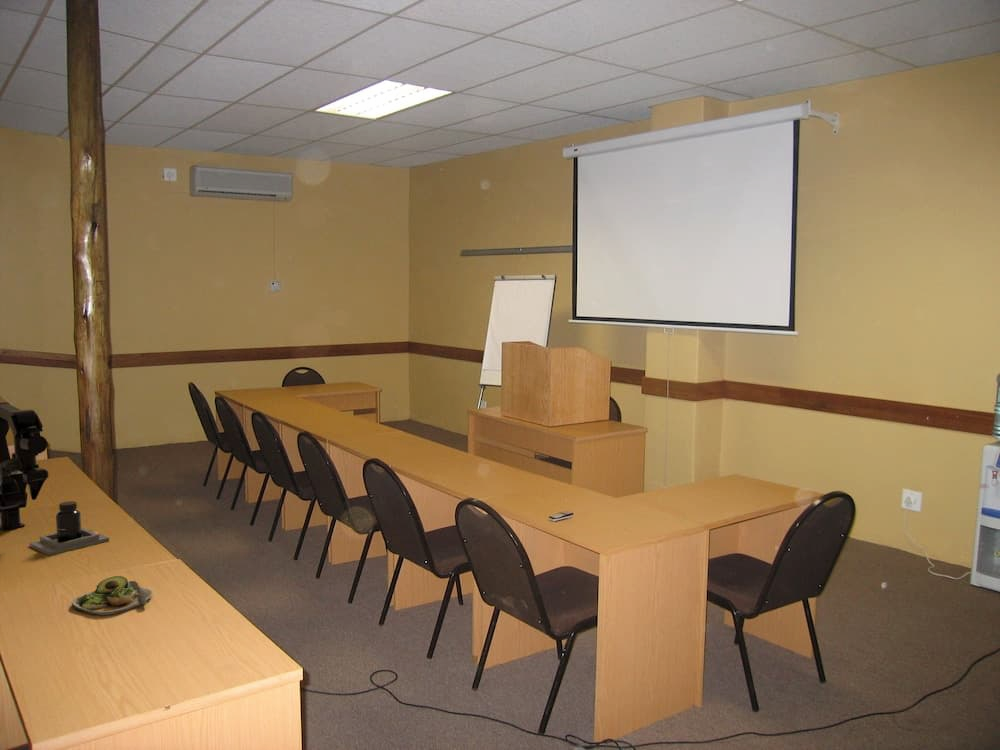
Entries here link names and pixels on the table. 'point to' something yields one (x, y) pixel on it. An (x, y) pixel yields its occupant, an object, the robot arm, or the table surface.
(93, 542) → the grey recessed tray
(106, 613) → the salad plate
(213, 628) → the table surface
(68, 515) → the supplement bottle
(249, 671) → the table surface
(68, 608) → the table surface
